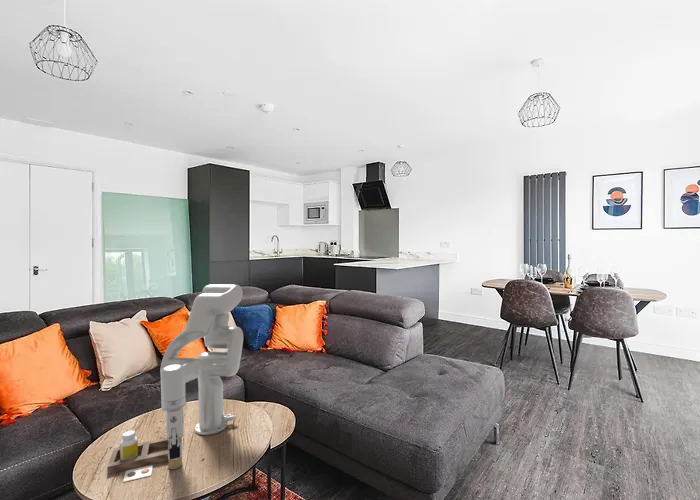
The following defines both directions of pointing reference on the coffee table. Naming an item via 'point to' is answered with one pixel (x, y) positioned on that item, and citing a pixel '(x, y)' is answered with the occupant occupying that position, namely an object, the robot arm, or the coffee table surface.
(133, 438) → the supplement bottle
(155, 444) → the bottle rack
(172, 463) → the sprinkles bottle
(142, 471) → the card
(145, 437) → the coffee table surface
